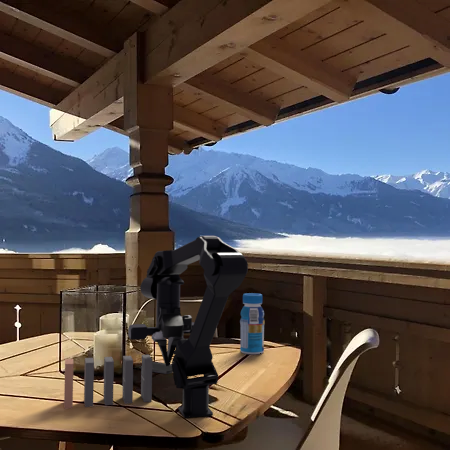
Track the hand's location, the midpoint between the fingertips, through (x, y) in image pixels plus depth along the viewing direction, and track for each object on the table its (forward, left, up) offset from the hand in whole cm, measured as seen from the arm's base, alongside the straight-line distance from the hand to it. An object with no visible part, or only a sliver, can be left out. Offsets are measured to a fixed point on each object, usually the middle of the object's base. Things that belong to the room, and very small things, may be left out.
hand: (167, 365), depth 126 cm
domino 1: (0, +23, -8) cm, 24 cm away
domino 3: (0, +14, -8) cm, 16 cm away
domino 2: (0, +19, -8) cm, 20 cm away
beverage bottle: (+42, -38, -8) cm, 57 cm away
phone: (+29, -2, -8) cm, 30 cm away
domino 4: (0, +10, -8) cm, 12 cm away
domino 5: (0, +5, -8) cm, 9 cm away
